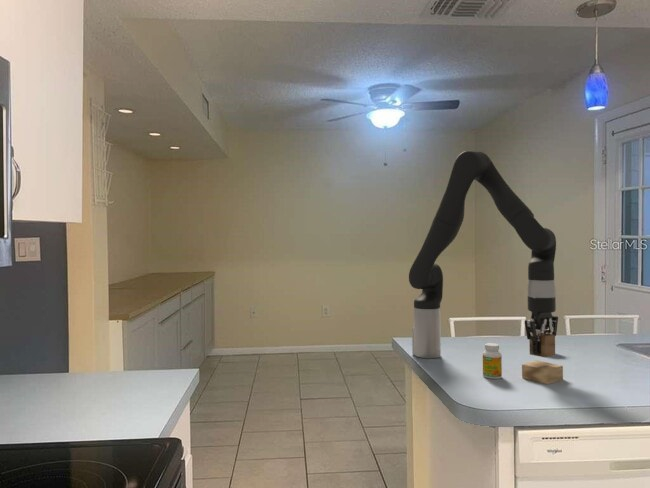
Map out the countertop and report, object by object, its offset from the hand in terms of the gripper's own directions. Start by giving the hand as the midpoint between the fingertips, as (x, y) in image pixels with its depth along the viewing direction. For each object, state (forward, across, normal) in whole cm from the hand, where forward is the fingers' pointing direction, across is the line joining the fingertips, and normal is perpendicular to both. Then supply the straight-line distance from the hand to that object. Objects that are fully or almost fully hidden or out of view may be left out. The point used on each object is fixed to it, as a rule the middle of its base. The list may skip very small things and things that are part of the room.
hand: (542, 352), depth 139 cm
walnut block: (+1, 0, 0) cm, 1 cm away
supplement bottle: (+8, +10, -10) cm, 16 cm away
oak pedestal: (+8, 0, 0) cm, 8 cm away
